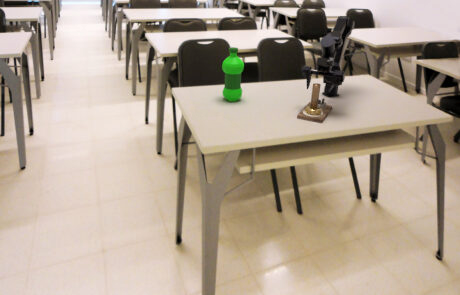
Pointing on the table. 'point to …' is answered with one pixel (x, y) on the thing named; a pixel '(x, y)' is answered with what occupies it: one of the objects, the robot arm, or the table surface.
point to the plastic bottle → (232, 75)
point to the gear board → (317, 118)
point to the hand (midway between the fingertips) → (317, 90)
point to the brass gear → (314, 101)
